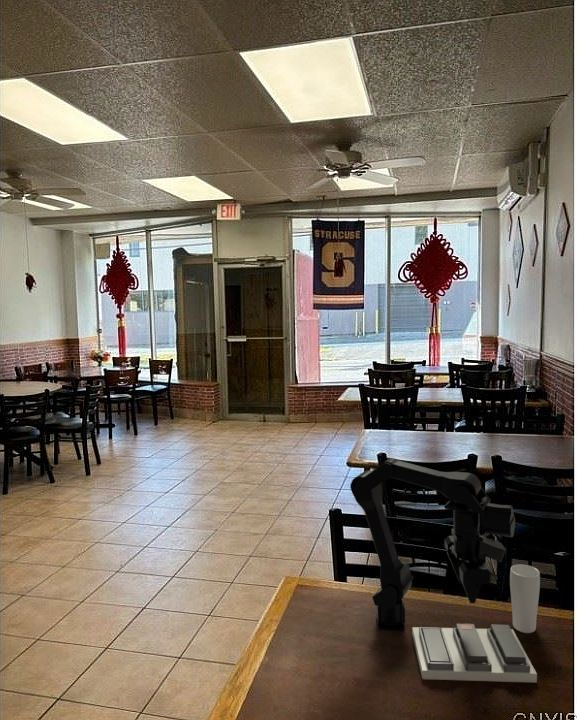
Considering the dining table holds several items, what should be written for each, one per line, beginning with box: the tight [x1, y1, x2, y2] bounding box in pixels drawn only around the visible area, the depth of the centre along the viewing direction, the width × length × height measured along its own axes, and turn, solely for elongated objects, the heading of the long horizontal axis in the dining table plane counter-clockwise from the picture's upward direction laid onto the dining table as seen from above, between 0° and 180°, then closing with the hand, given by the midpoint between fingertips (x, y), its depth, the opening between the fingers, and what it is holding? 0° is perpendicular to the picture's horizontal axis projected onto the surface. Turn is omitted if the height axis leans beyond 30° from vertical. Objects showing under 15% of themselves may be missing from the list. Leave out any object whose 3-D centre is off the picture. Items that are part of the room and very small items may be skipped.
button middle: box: [455, 623, 487, 663], centre depth 124 cm, size 4×12×2 cm, turn 175°
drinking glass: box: [509, 563, 541, 634], centre depth 135 cm, size 7×7×15 cm
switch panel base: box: [411, 626, 538, 683], centre depth 125 cm, size 24×16×4 cm, turn 85°
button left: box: [422, 628, 450, 663], centre depth 125 cm, size 4×12×2 cm, turn 175°
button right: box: [490, 624, 526, 664], centre depth 123 cm, size 4×12×2 cm, turn 175°
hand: (466, 592), depth 129 cm, fingers open, 9 cm apart
